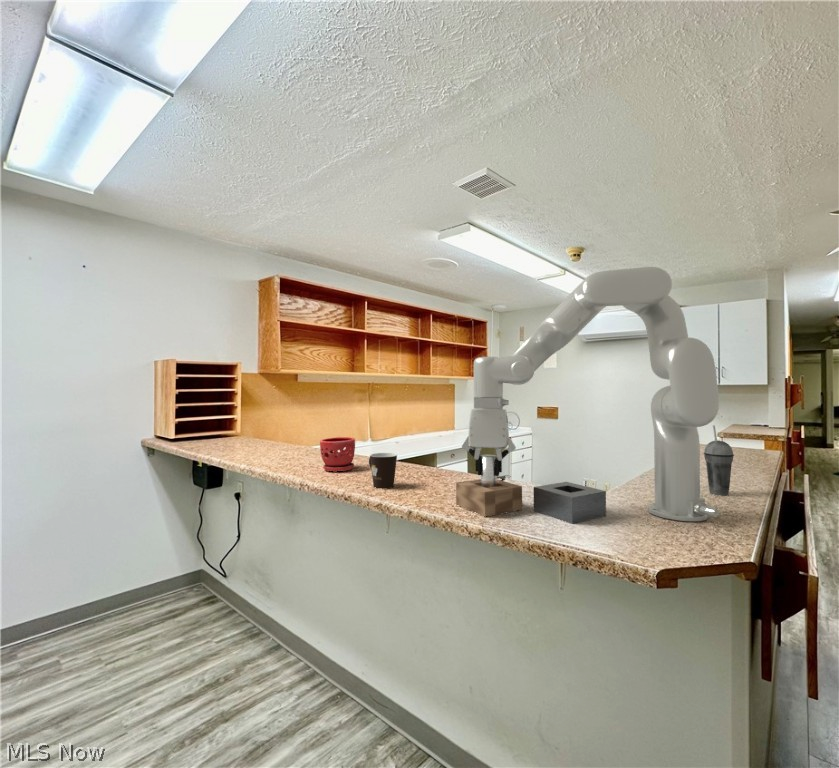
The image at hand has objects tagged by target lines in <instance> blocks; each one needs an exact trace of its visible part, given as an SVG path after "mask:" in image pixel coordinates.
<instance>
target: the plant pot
mask: <svg viewBox="0 0 839 768" xmlns="http://www.w3.org/2000/svg"><path fill="white" fill-rule="evenodd" d="M319 450H320V455H321V459H322V462H323V463H324V465H323V467H322V468H323V469H324V471H326V472H329V471H333V472H332V473H338V472H337V471H343V472H347V470H348V471H350V470H352V469H353V468H354V466H355V464H354V463H353V460H354V457H355V450H356V439H355V437H350V436H343V437H342V436H339V437H338V436H337V437H330V438H329V437H327V438H323V439H320V441H319ZM338 451H339V452H338Z"/></svg>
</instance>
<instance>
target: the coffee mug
mask: <svg viewBox="0 0 839 768" xmlns="http://www.w3.org/2000/svg"><path fill="white" fill-rule="evenodd" d="M397 457H398V454H397V453H392V452H375V453H371V454H370V455H369V458H368V465H369V467H370V469H371V478H372V483H373V484H372V486H373V488H374V487H376V488H375V489H378V488H388V489H391V488H390V487H392V488H393V486H395V478H396V477H395V475H396V470H397V469H396V467H397V459H398V458H397Z"/></svg>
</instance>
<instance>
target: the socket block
mask: <svg viewBox="0 0 839 768" xmlns="http://www.w3.org/2000/svg"><path fill="white" fill-rule="evenodd" d="M533 511H534V512H536V513H539V514H542V515H545V516H548V517H550V518H553V517H554V519H556V518H557V520H559V519H560V521H562V520H563V522H565V521H566V523H568V522H569V524H573V525H574V524H577V523H581V522H586V521H591V520H594V518H595V519H599V518H602V516H603V517H607V491H606V490H604V489H599V488H594V487H590V486H586V485H582V484H577V483H574V482H569V481H562V482H555V483H549V484H544V485H537V486H533ZM598 517H599V518H598ZM590 519H591V520H590Z"/></svg>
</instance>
